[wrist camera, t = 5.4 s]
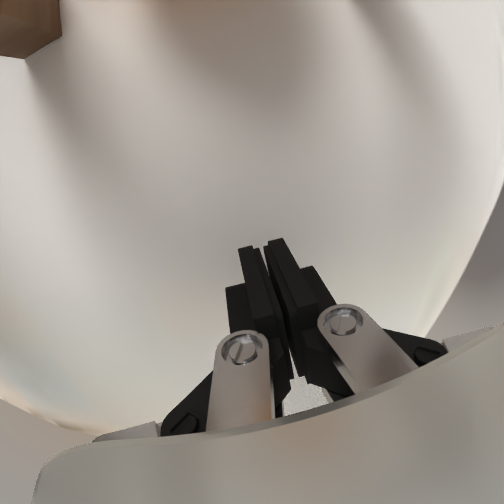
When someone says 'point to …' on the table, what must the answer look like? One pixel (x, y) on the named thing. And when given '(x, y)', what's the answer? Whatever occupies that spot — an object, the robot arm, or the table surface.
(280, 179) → the table surface
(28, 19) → the bridge
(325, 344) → the robot arm
